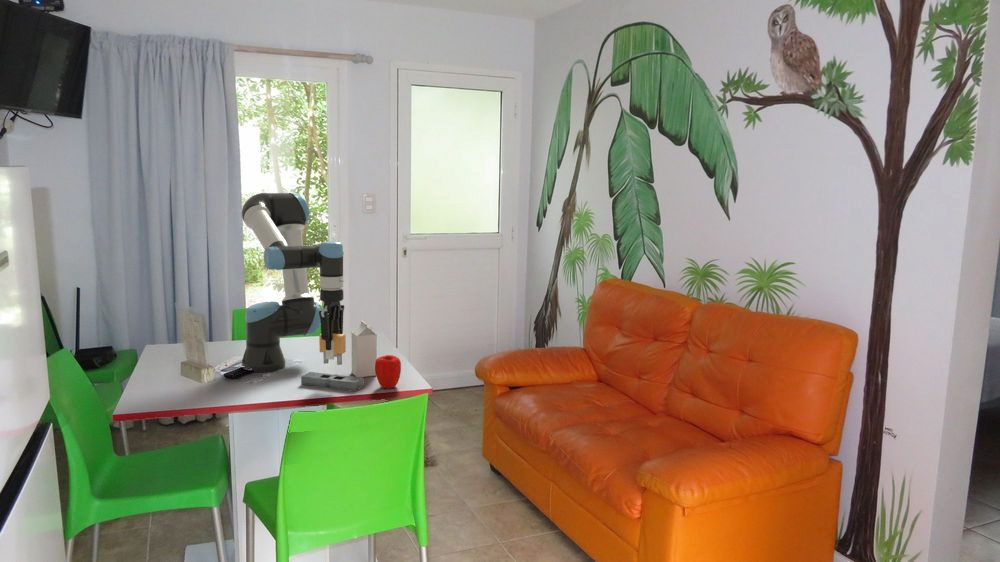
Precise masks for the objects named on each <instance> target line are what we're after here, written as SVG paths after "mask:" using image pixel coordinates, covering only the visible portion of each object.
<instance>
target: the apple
mask: <svg viewBox="0 0 1000 562" xmlns="http://www.w3.org/2000/svg"><path fill="white" fill-rule="evenodd" d="M375 373H376V375H375V376H376V380H377V381H378V383H379V385H380V387H381V388H383V387H384V389H386V388H391V389H393V388H392V387H394V388H395V387H397V385H398V383H399V381H400V378H401V373H402V362H401V359H400V358H399V357H397V356H396V355H393V354H391V355H390V354H386V355H382V356H379V357H377V359H376V362H375Z"/></svg>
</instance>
